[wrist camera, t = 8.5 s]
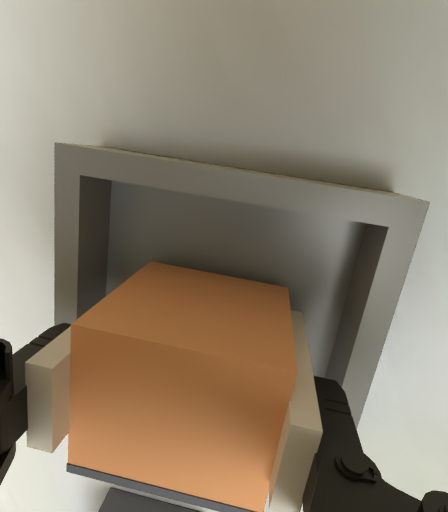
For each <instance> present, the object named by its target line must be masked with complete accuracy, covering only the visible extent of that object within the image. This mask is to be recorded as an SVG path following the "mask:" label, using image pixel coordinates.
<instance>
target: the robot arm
mask: <svg viewBox="0 0 448 512" xmlns="http://www.w3.org/2000/svg"><path fill="white" fill-rule="evenodd" d="M291 318H292V327H293V336H294V345H295V355H296V364H297V377H296V381H295V385H294V389H293V393H292V397H291V401H289V403H288V408H287V412H286V416H285V420H284V424H283V428H282V432H281V436H280V440H279V445H278V449H277V453H276V457H275V461H274V465H273V469H272V473H271V477H270V483H269V510H272V511H276V512H300V510H301V507H302V503H303V512H448V493H446V492H441V491H434V490H433V491H431V492H428V493H425V495H424V497H423V499H422V501H420V500H418V499H416V498H414V497H412V496H410V495H408V494H406V493H404V492H402V491H400V490H398V489H396V488H395V487H393V486H391V485H390V484H388V483H387V482H385V481H384V480H383V479H382V478H381V473H380V471H379V470H378V468H377V466H376V465H375V463H374V462H373V461H372V460H371V459H370V458H369V457H368V456H366V455H365V454H364V453H363V450H362V447H361V443H360V440H359V437H358V433H357V430H356V427H355V423H354V420H353V417H352V416H351V415H352V413H351V410H350V406H348V405H349V403H348V400H347V396H346V393H345V391H344V390H343V389H342V387H341V386H340V385H339V384H338V383H337V381H336V380H331V379H327V378H322V377H318V376H313V371H312V365H311V360H310V354H309V348H308V342H307V336H306V330H305V325H304V319H303V313H302V312H298V311H293V310H291ZM70 342H71V324H68V323H61V324H59V325H56V326H53V327H51V328H49V329H47V330H46V331H45V332H43V333H42V334H40V335H39V337H38V338H37V337H36V338H35V339H34V340H32V341H31V342H30V343H29V344H27V345H25V346H24V347H23V348H21V349H20V350H18V351H17V352H16V353H14V354H13V355H12V346H11V344H10V342H8V341H6V340H4V339H0V485H1V483H2V481H3V479H4V477H5V475H6V473H7V471H8V469H9V467H10V465H11V463H12V461H13V459H14V456H15V452H16V441H17V440H18V439H19V438H20V437H21V436H22V435H23V433H24V432H25V431H26V430H27V447H30V448H34V449H38V450H42V451H46V452H49V453H53V452H54V450H55V449H56V448H57V446H58V445H59V444H60V443H61V441H62V440H63V439H64V437H65V436H66V435H67V434H68V432H69V402H70V353H71V352H70Z"/></svg>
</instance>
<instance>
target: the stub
mask: <svg viewBox="0 0 448 512" xmlns="http://www.w3.org/2000/svg"><path fill="white" fill-rule="evenodd" d="M70 352H71V353H70V402H69V439H68V463H67V471H66V472H70V473H74V474H78V475H81V476H85V477H89V478H93V479H97V480H101V481H104V482H108V483H112V484H116V485H120V486H124V487H127V488H131V489H135V490H139V491H143V492H147V493H150V494H154V495H158V496H162V497H166V498H170V499H173V500H177V501H181V502H185V503H189V504H193V505H196V506H200V507H204V508H208V509H212V510H216V511H219V512H264V507H265V503H266V499H267V495H268V491H269V483H270V477H271V473H272V469H273V465H274V461H275V457H276V453H277V449H278V445H279V440H280V436H281V432H282V428H283V424H284V420H285V416H286V412H287V408H288V403H289V401H291V397H292V393H293V389H294V385H295V381H296V377H297V364H296V355H295V345H294V336H293V327H292V318H291V308H290V299H289V290H288V287H283V286H278V285H272V284H267V283H262V282H257V281H251V280H246V279H241V278H236V277H230V276H225V275H220V274H215V273H209V272H204V271H199V270H194V269H188V268H183V267H178V266H173V265H167V264H162V263H157V262H152V261H150V262H149V263H148V264H147V265H145V266H144V267H143V268H141V269H140V270H139V271H138V272H136V273H135V274H134V275H133V276H131V277H130V278H129V279H128V280H126V281H125V282H124V283H122V284H121V285H120V286H119V287H117V288H116V289H115V290H114V291H112V292H111V293H110V294H109V295H107V296H106V297H105V298H103V299H102V300H101V301H100V302H98V303H97V304H96V305H95V306H93V307H92V308H91V309H90V310H88V311H87V312H86V313H84V314H83V315H82V316H81V317H79V318H78V319H77V320H76V321H74V322H73V323H72V324H71V342H70Z"/></svg>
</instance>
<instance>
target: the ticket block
mask: <svg viewBox="0 0 448 512" xmlns="http://www.w3.org/2000/svg"><path fill="white" fill-rule="evenodd" d="M99 512H198V511H194V510H191V509H187V508H183V507H180V506H176V505H172V504H169V503H165V502H161V501H158V500H154V499H150V498H147V497H143V496H139V495H136V494H132V493H128V492H124V491H121V490H117V489H113V488H110V490H109V492H108V494H107V496H106V498H105V500H104V502H103V504H102V506H101V508H100V510H99Z"/></svg>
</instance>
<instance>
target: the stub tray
mask: <svg viewBox="0 0 448 512" xmlns="http://www.w3.org/2000/svg"><path fill="white" fill-rule="evenodd" d="M429 204H430V202H428V201H424V200H420V199H416V198H413V197H409V196H405V195H401V194H397V193H393V192H387V191H381V190H374V189H368V188H362V187H355V186H349V185H342V184H336V183H330V182H323V181H317V180H311V179H304V178H298V177H292V176H285V175H279V174H273V173H266V172H260V171H254V170H247V169H241V168H235V167H228V166H222V165H216V164H209V163H203V162H197V161H190V160H184V159H178V158H171V157H165V156H158V155H152V154H146V153H139V152H133V151H127V150H120V149H114V148H108V147H100V146H89V145H77V144H66V143H55V326H56V325H59V324H61V323H68V324H72V323H73V322H74V321H76V320H77V319H78V318H79V317H81V316H82V315H83V314H84V313H86V312H87V311H88V310H90V309H91V308H92V307H93V306H95V305H96V304H97V303H98V302H100V301H101V300H102V299H103V298H105V297H106V296H107V295H109V294H110V293H111V292H112V291H114V290H115V289H116V288H117V287H119V286H120V285H121V284H122V283H124V282H125V281H126V280H128V279H129V278H130V277H131V276H133V275H134V274H135V273H136V272H138V271H139V270H140V269H141V268H143V267H144V266H145V265H147V264H148V263H149V262H150V261H152V262H157V263H162V264H167V265H173V266H178V267H183V268H188V269H194V270H199V271H204V272H209V273H215V274H220V275H225V276H230V277H236V278H241V279H246V280H251V281H257V282H262V283H267V284H272V285H278V286H283V287H288V290H289V299H290V308H291V310H293V311H298V312H302V313H303V319H304V325H305V330H306V336H307V342H308V348H309V354H310V360H311V365H312V371H313V376H318V377H322V378H327V379H331V380H336V381H337V383H338V384H339V385H340V386H341V387H342V389H343V390H344V391H345V393H346V396H347V400H348V403H349V405H348V406H350V410H351V413H352V415H351V416H352V417H353V420H354V423H355V427H356V429H357V426H358V423H359V420H360V417H361V414H362V411H363V408H364V405H365V402H366V398H367V395H368V392H369V389H370V386H371V383H372V380H373V377H374V374H375V371H376V368H377V364H378V361H379V358H380V355H381V352H382V349H383V346H384V343H385V340H386V337H387V334H388V330H389V327H390V324H391V321H392V318H393V315H394V312H395V309H396V306H397V303H398V300H399V296H400V293H401V290H402V287H403V284H404V281H405V278H406V275H407V272H408V269H409V266H410V262H411V259H412V256H413V253H414V250H415V247H416V244H417V241H418V238H419V235H420V232H421V228H422V225H423V222H424V219H425V216H426V213H427V210H428V207H429ZM68 434H69V432H68Z"/></svg>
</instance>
